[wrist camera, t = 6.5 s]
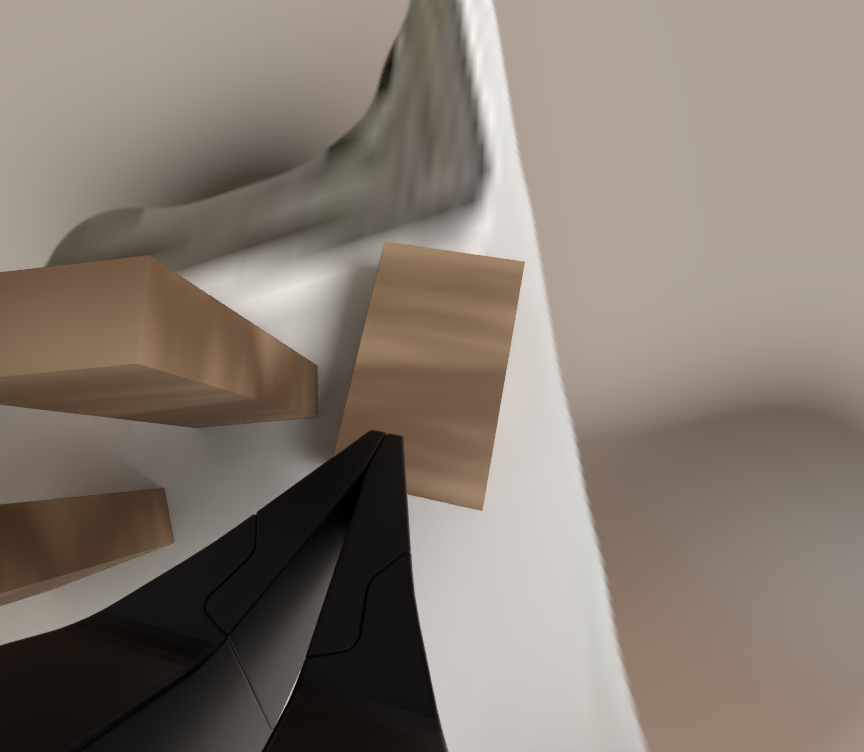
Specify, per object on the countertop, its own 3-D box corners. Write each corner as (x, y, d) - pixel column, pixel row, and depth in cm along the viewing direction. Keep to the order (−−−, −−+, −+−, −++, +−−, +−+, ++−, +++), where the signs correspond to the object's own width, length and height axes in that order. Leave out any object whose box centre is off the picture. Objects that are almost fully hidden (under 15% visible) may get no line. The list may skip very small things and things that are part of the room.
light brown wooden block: (317, 417, 17) (137, 363, 8) (195, 427, 18) (-127, 389, 8) (317, 362, 18) (149, 247, 8) (199, 373, 18) (-96, 275, 9)
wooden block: (482, 510, 14) (524, 261, 15) (328, 476, 14) (384, 241, 16) (479, 499, 16) (515, 288, 18) (349, 471, 17) (395, 270, 19)
